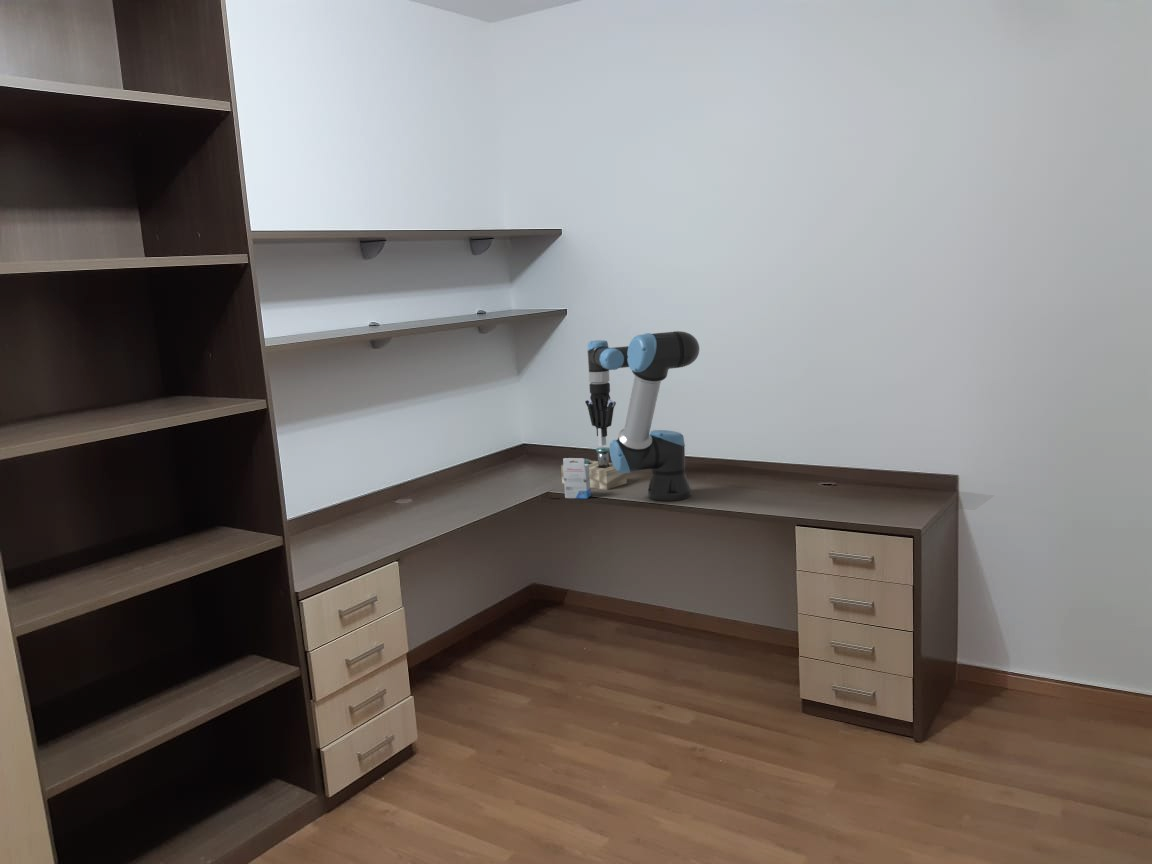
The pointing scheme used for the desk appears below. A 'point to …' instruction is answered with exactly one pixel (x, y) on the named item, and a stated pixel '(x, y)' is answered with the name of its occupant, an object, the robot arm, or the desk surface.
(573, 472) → the ink box
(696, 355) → the robot arm
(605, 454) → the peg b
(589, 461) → the teal lidded jar
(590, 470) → the socket block
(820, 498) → the desk surface
